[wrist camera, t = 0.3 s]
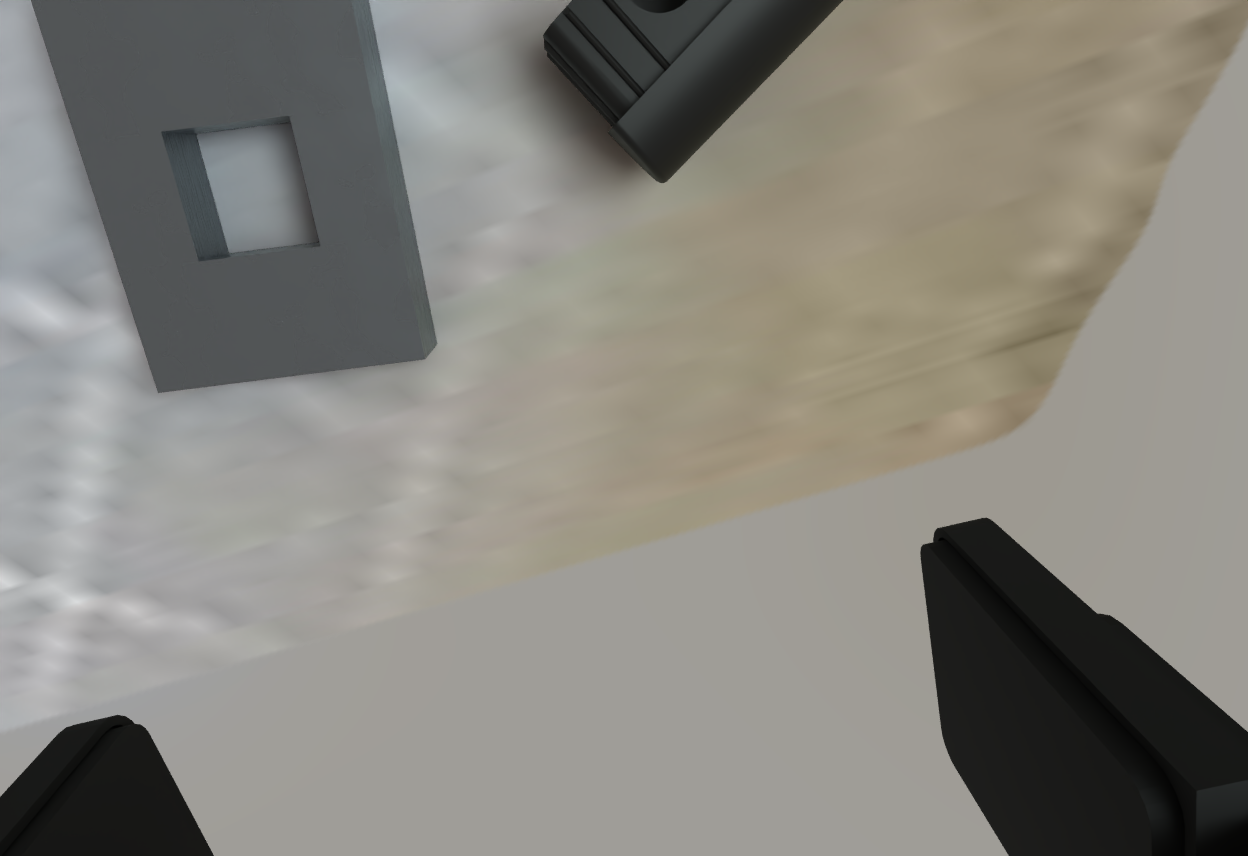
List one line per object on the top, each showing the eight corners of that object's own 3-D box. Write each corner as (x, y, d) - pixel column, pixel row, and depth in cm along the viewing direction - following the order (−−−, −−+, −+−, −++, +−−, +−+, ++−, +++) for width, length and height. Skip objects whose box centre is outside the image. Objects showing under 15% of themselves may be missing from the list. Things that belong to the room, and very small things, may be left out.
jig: (76, 6, 33) (28, -8, 30) (362, -29, 33) (341, -47, 30) (190, 375, 38) (158, 392, 35) (437, 344, 38) (425, 359, 35)
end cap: (654, 183, 36) (669, 189, 30) (542, 63, 35) (532, 41, 28) (819, 14, 34) (872, -19, 28) (708, -124, 33) (739, -192, 26)
